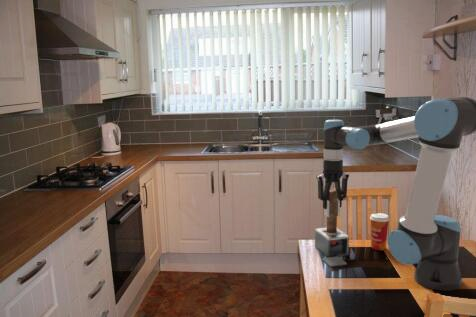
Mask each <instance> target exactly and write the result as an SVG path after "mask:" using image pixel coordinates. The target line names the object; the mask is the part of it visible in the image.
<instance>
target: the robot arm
mask: <svg viewBox="0 0 476 317" xmlns="http://www.w3.org/2000/svg"><path fill="white" fill-rule="evenodd" d="M323 124H324V126H323V127H324V128H323V162H322V163H323V165H322V166H323V171H322V172H321V173H322V174H320V175H316V180H317V198H318V199H319V200H320V201H322V209H323V210H324V216H325V217H326V218H327V217H329V201H328V196H329V191H330V190H331V186H332V185H333V183H334V188H335V189H334V190H336V191H338V195H337V217H340V216H341V214H340V212H341V210H340V208H342V204H343V203H342V202H343V201H344V199H345V198H347V195H348V194H347V193H348V182H349V181H348V180H349V177H350V174H348V173H347V172H344V171H343V167H344V160H343V159H344V147H346V148H351V149H354V150H362V149H365V148H366V147H367V146H368V147H369V146H374V145H376V146H377V145H385V144H388V143H393V142H398V141H404V140H409V139H410V140H411V139H417V141H418V143H419V144H420V145H421V148H420V152H419V155H418V161H417V166H416V169H415V174H414V177H413V182H412V187H411V190H410V194H409V199H408V203H407V207H406V212H405V214H404V215H401V216H400V217H399V219H398V220H399V221H398V224H397V228H396V229H393V230H392V231H390V233H388V234H387V240H386V243H387V247H388V249H389V251H390V254H391V255H392V256H393V258H394V259H395V260H396V261H398V262H399V263H401V264H402V265H406V266H407V265H408V266H411V265H417V266H416V268H415V269H414V276H413V277H414V278H413V279H414V280H415V281H416V283H418V284H420V285H421V286H424V287H425V288H429V289H431V290H437V291H447V292H449V291H456V290H458V289H460V288H461V287H462V284H463V277H462V273H461V270H460V265H459V262H458V260H459V253H460V252H459V250H460V238H461V232H462V231H461V223H460V222H459V221H458V220H457V219H455V218H454V217H450V216H446V215H441V214H437V213H438V209H439V204H440V201H441V197H442V192H443V188H444V184H445V183H446V182H445V181H446V177H447V175H448V174H447V173H448V170H449V166H450V162H451V158H452V154H453V153H454V152H455V151H456V150H458V149H459V150H460V146H461V142H462V139H463V137H465V136H466V137H467V136H470V135H472V134H474V133H476V99H474V98H471V97H467V96H464V97H461V96H460V97H450V98H445V97H441V98H440V97H439V98H435V99H432V100H428V101H426V102H424V103H423V104H422V105H420V106H419V108H418V109H417V111H416V112H415V114H414V116H409V117H405V118H400V119H396V120H392V121H386V122H383V123H379V124H378V123H377V124H372V125H364V126H345V122H344V120H342V119H327V120H325V122H324V123H323ZM324 180H325V181H324ZM324 183H325V184H324Z"/></svg>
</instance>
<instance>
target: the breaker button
mask: <svg viewBox="0 0 476 317" xmlns="http://www.w3.org/2000/svg"><path fill="white" fill-rule="evenodd" d="M327 235H328V236H330V235H331V234H327ZM333 245H337V240H330V246H333Z"/></svg>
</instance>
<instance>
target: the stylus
mask: <svg viewBox="0 0 476 317" xmlns="http://www.w3.org/2000/svg"><path fill="white" fill-rule="evenodd" d="M337 195H338V191H336V189H330V191H329V196H328V201H329V217H326V227H327V232H326V233H329V234H333V233H336V232H337V228H338V216H337Z"/></svg>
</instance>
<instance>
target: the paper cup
mask: <svg viewBox="0 0 476 317" xmlns="http://www.w3.org/2000/svg"><path fill="white" fill-rule="evenodd" d="M369 220H370V235H371V236H370V241H371V242H370V244H371V245H370V246H371V249H372V250H375V251H385V250H386V246H387V240H388V231H389V221H390V218H389V215H388V214H387V213H383V212H382V213H381V212H380V213H379V212H378V213H371V214H370V217H369ZM384 249H385V250H384Z"/></svg>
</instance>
